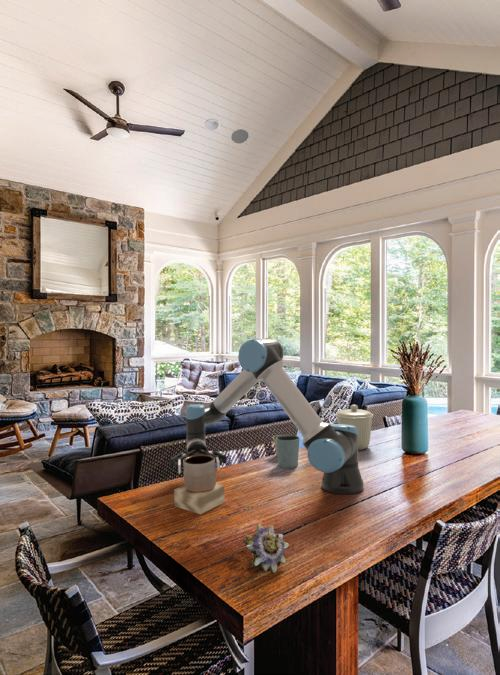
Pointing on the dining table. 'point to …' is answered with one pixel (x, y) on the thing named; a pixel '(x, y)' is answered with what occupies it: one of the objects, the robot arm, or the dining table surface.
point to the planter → (199, 473)
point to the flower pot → (276, 443)
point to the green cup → (287, 451)
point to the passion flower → (266, 548)
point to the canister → (357, 423)
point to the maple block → (199, 499)
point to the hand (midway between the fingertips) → (199, 467)
